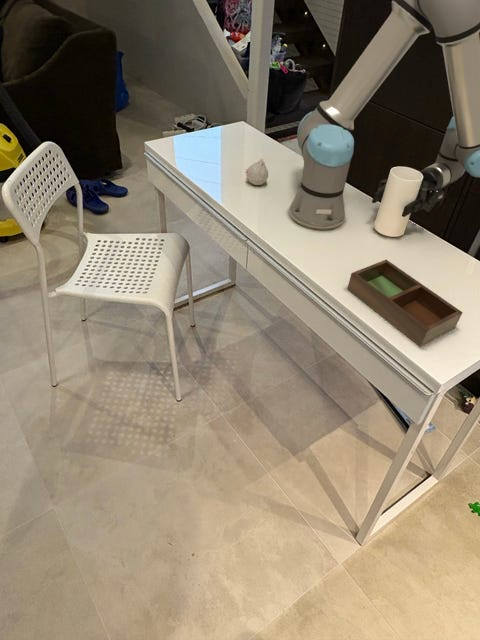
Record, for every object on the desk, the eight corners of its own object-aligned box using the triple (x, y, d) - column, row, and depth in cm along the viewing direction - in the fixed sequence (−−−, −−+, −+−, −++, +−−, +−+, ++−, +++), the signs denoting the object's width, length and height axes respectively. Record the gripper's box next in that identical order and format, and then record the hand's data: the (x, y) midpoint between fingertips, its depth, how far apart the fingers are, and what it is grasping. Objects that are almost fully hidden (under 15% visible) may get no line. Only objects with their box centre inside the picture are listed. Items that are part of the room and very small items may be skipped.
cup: (399, 240, 130) (418, 184, 119) (369, 230, 132) (386, 174, 122) (407, 227, 135) (426, 172, 125) (379, 217, 138) (395, 163, 127)
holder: (381, 274, 119) (386, 259, 116) (455, 328, 106) (462, 312, 103) (346, 289, 113) (351, 273, 110) (420, 347, 100) (427, 330, 97)
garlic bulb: (246, 177, 153) (248, 152, 147) (268, 180, 152) (271, 155, 147) (243, 186, 148) (245, 161, 142) (265, 190, 147) (268, 164, 142)
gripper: (460, 207, 136) (421, 234, 123) (394, 179, 146) (351, 202, 133) (470, 181, 131) (431, 208, 118) (401, 154, 141) (358, 176, 128)
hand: (389, 205), depth 125 cm, fingers closed on cup, 8 cm apart
